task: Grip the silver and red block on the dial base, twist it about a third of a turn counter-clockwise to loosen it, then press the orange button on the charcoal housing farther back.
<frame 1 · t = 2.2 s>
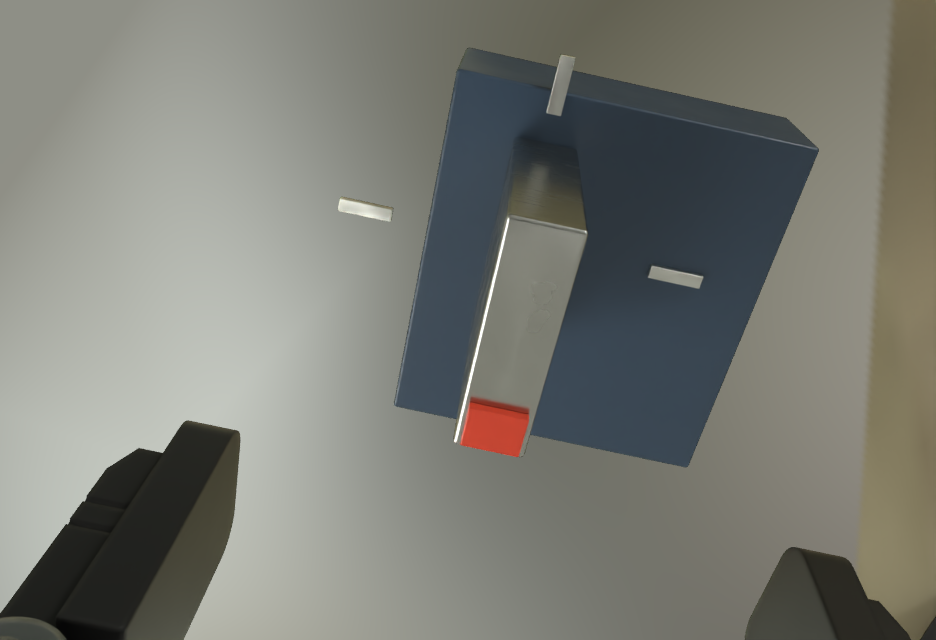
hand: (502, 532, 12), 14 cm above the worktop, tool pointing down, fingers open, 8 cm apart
silver and red block: (518, 290, 19), point 6 cm above the worktop, hinge at 0.0°
dial base: (580, 247, 25), on the worktop
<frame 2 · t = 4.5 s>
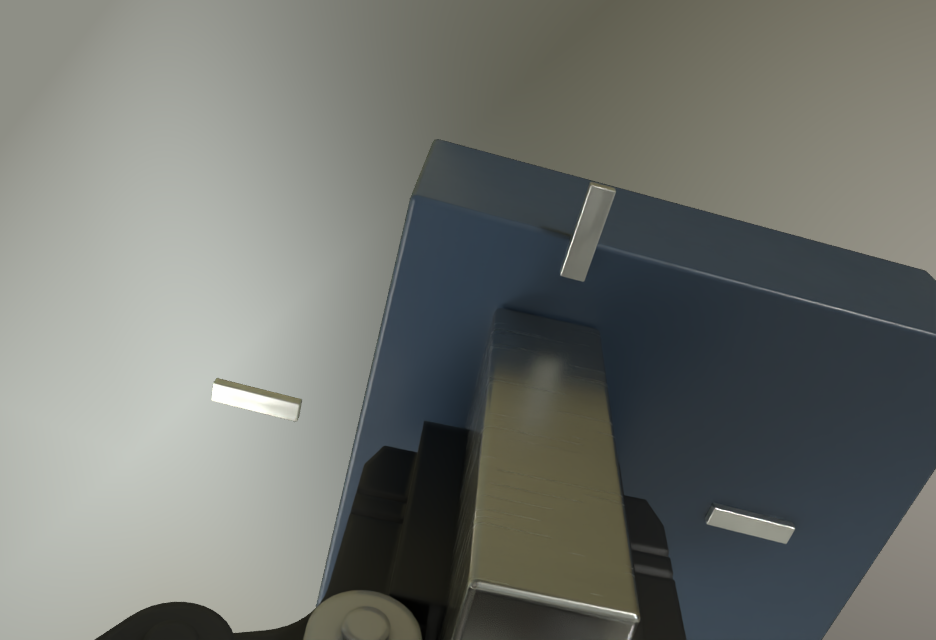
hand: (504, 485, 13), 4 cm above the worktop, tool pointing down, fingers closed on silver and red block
silver and red block: (500, 595, 11), point 6 cm above the worktop, hinge at 2.9°, touching gripper
dial base: (594, 430, 17), on the worktop
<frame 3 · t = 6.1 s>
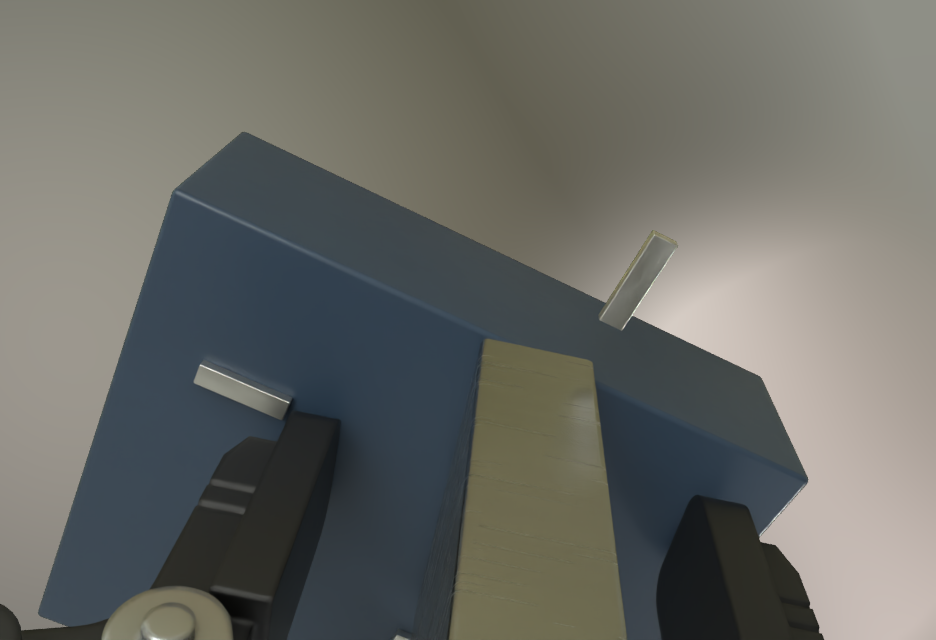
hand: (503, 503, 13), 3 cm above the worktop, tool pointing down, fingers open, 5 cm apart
dial base: (411, 446, 16), on the worktop
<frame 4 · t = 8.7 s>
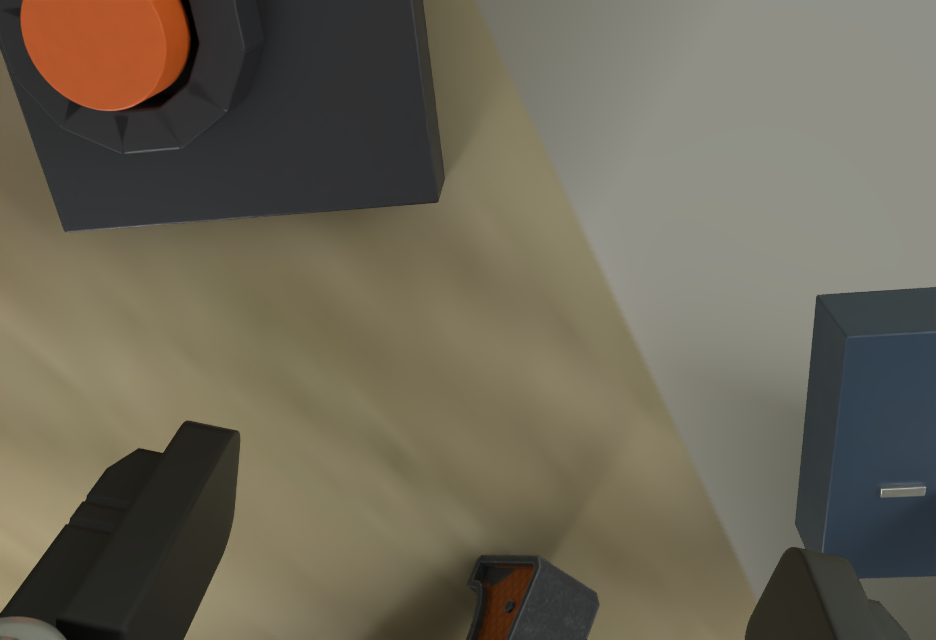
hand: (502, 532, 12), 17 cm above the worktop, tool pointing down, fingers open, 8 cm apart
button: (109, 32, 21), point 4 cm above the worktop, slide at 0.1 cm
button box: (238, 72, 26), on the worktop
dial base: (934, 411, 30), on the worktop
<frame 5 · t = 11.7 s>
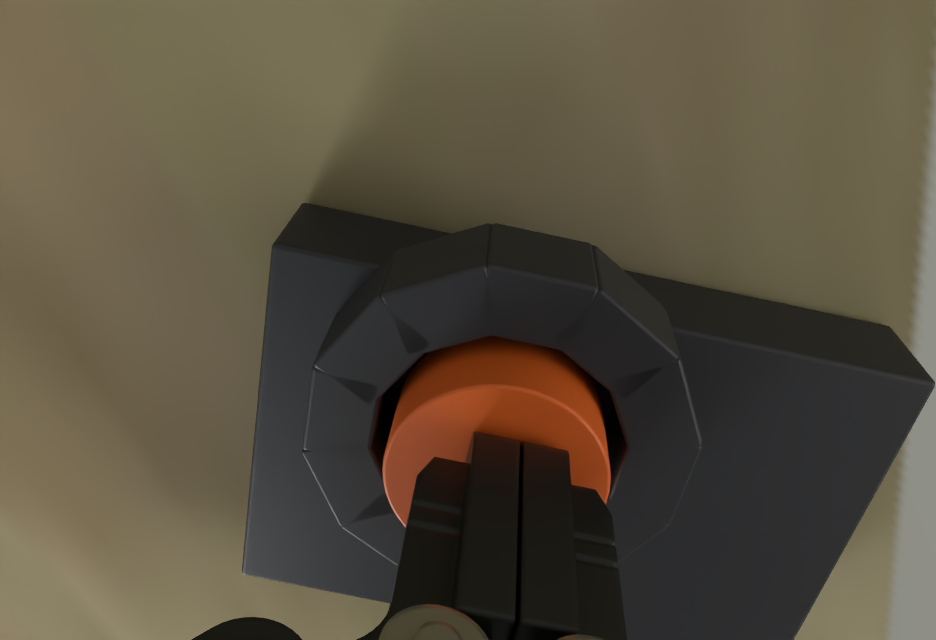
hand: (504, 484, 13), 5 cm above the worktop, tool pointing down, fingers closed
button: (497, 449, 14), point 4 cm above the worktop, slide at -0.4 cm, touching gripper
button box: (551, 425, 18), on the worktop
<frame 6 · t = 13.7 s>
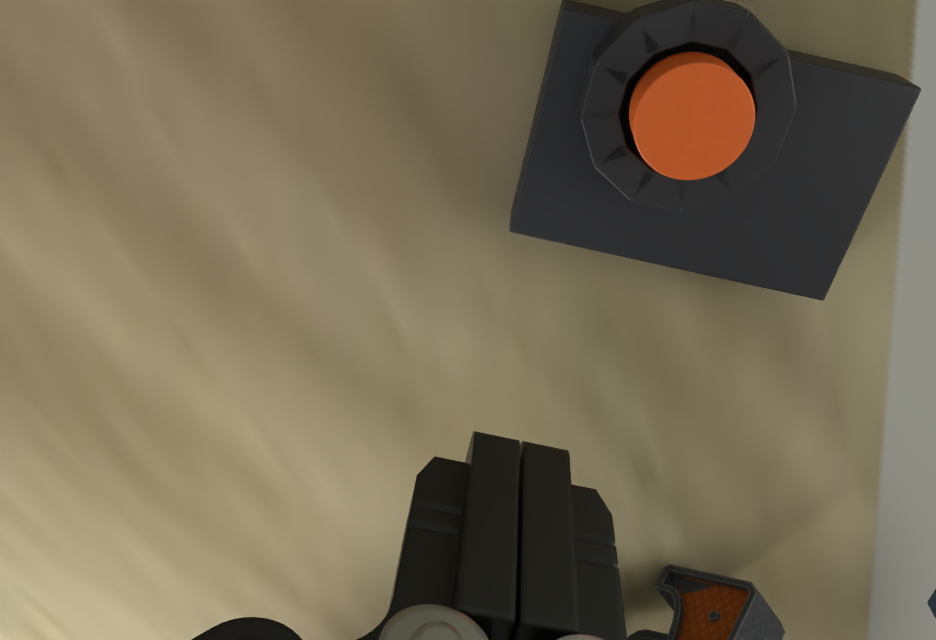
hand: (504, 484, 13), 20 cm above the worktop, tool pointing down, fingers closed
button: (689, 116, 26), point 4 cm above the worktop, slide at 0.1 cm
button box: (693, 146, 31), on the worktop
tool: (567, 628, 43), on the worktop
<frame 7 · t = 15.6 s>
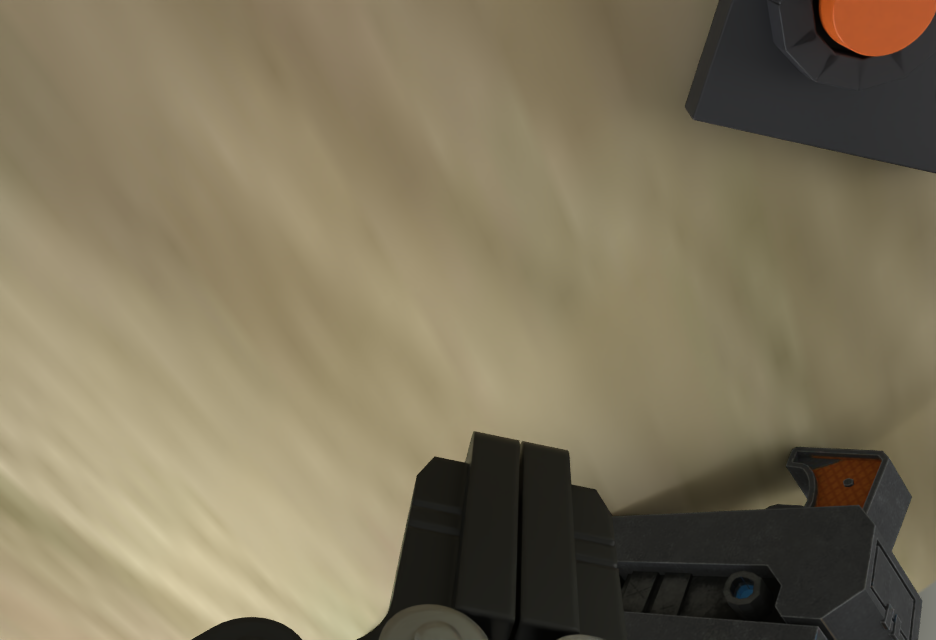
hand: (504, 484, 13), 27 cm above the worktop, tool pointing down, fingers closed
button: (877, 0, 30), point 4 cm above the worktop, slide at 0.1 cm
button box: (852, 44, 35), on the worktop
tool: (695, 513, 47), on the worktop
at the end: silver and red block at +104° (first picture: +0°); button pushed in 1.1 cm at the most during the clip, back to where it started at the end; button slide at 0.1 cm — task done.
